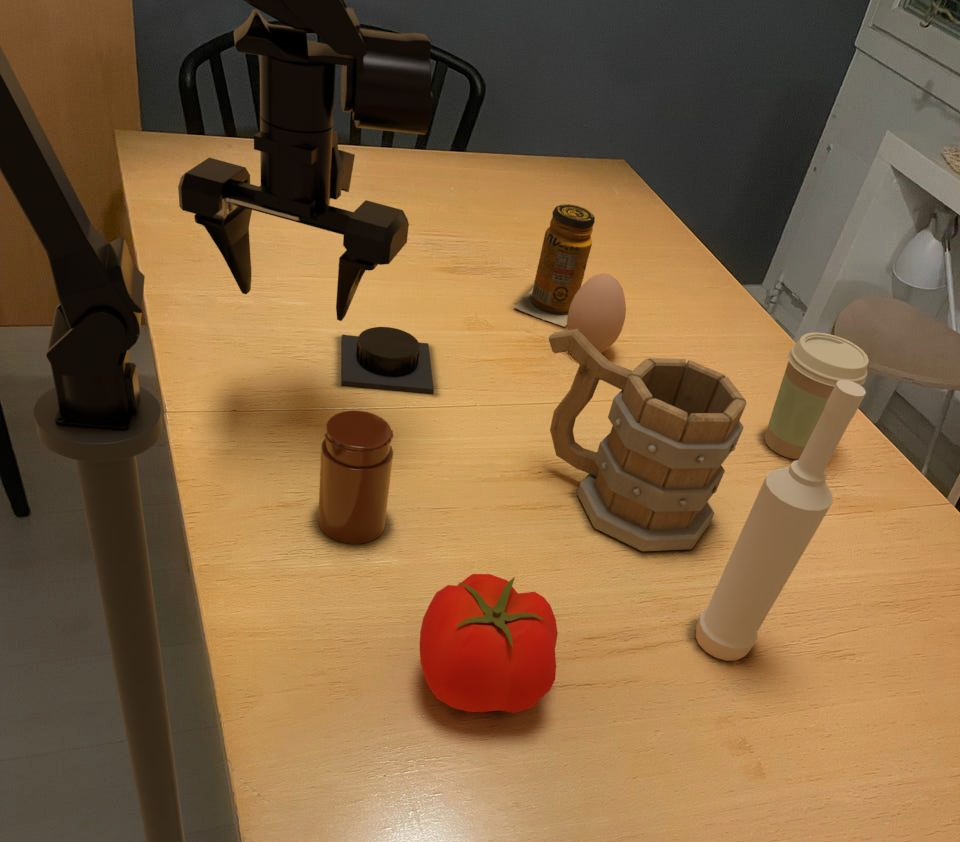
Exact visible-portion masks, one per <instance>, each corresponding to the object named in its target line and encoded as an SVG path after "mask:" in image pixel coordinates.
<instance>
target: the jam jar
mask: <svg viewBox="0 0 960 842" xmlns="http://www.w3.org/2000/svg"><path fill="white" fill-rule="evenodd" d="M393 438H394V430H393V429H392V427H391V426H390V423H388V421H386V420H385V419H384V418H383V417H381V416H379V415H377V414H375V413H372V412H368V411H363V410H344V411H341V412H338V413H336V414H334V415H331V417H329V419H328V420H327V422H326V425H325V433H324V439H323V441H322V443H321V448H320V449H321V450H320V468H319V469H320V470H319V487H318V488H319V489H318V490H319V491H318V512H317V523H318V526H319V529H320V530H321V531H322V533H324V534H325V535H326V536H327V537H329V538H330V539H331V540H334V541H337V542H339V543H343V544H350V545H362V544H366V543H367V544H368V543H370V542H372V541H375V540H376V539H378V538H379V537H380V536H381V535H382V534H383V532H384V531H385V527H386V520H387V510H388V502H389V494H390V485H391V475H392V469H393V468H392V467H393V466H392V465H393V458H394V450H393V447H392V440H393Z"/></svg>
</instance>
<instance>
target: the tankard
mask: <svg viewBox="0 0 960 842" xmlns="http://www.w3.org/2000/svg"><path fill="white" fill-rule="evenodd" d="M548 342H549V345H550V348H551V352H552V353H554V354H560V353H566V352H569V354H570V355H571V356H572V357H573V358H574V360H575V361H576V363H577V364H578V368H577V370H576V374H575V376H574V379H573V381H572V384H571V386H570V389H569V390H568V392H567V393H566V394H565V396H564V397H563V398H562V400H561V401H560V403H558V405H557V406H556V407H555V409H554V410H553V414H552V418H551V423H550V428H549V432H550V436H551V440H552V444H553V448H554V452H555V456H556V457H558V458H559V459H561V460H562V461H564V462H565V463H567V464H569V465H570V466H571V467H573V468H574V469H576V470H578V471H582V472H584V473H587V475H586V476H585V477H584V478H583V479H582V480H581V482H579V485H578V489H577V492H576V495H577V496H578V499H579V500H580V502H581V505H582V506H583V508H584V510H585V513H586V514H587V516H588V518H589V520H590V523H591V525H592V527H593V528H594V529H596V530H597V531H600V532H602V533H603V534H606V535H607V536H610V537H612V538H613V539H616V540H618V541H620V542H622V543H624V544H626V545H628V546H630V547H631V548H634V549H636V550H638V551H640V552H661V551H681V550H692V549H693V548H694V547H695V545H696V544H697V542H698V541H699V540H700V538H701V536H702V535H703V534H704V533H705V531H706V530H707V529H708V527H709V526H710V524H711V522H712V520H713V518H714V516H715V512H714V509H713V508H712V507H711V505H710V503H709V501H710V499H711V498H712V496H713V495H714V494H716V493H717V491H718V488H719V486H720V483H721V481H722V479H723V476H724V474H725V472H726V470H725V468H724V467H723V466H722V465H723V464H724V462H725V461H726V460H727V458H728V457H729V455H730V454H732V452H734V451H735V450H736V447H737V444H738V442H739V439H740V438H741V435H742V432H743V430H744V428H745V427H744V425H743V424H742V422H741V418H742V415H743V413H744V410H745V408H746V406H747V400H746V399H745V397H744V396H743V395H742V393H741V392H740V391H739V389H738V388H737V387H736V386H735V384H734V383H733V382H732V380H731V379H730V378H729V377H728V376H727V377H726V374H724V373H721V372H719V371H716V370H714V369H712V368H709V367H707V366H705V365H703V364H700V363H698V362H695V361H693V360H691V359H688V360H687V362H686V358H667V357H665V358H663V357H661V358H660V357H649V358H646V359H644V360H643V361H641V363H639V364H638V365H637V366H636V367H635V368H634V369H633V370H632V369H629V368H628V367H625V366H622V365H620V364H617V363H615V362H612V361H610V360H609V359H607V357H606V356H604V355H603V354H602V352H599V351H598V350H597V349H596V348H595V347H594V346H593V345H592V344H591V343H590V342H589V341H588V340H587V339H586V337H585V336H584V335H583V334H582V333H581V332H580V331H579V330H578V329H573V330H568V329H567V330H562V331H554V332H553V333H551V334H550V335H549V336H548ZM600 381H603V382H605V383H607V384H609V385H610V386H612V387H614V388H617V389H619V390H620V391H619V392H618V393H617V394H616V395H615V396H614V397H613V399H612V402H611V405H610V406H611V407H610V409H609V412H608V415H607V418H608V420H609V422H610V423H611V425H612V426H611V430H610V432H609V433H608V434H607V435H606V436H605V437H604V438H603V439H601V441H600V442H599V444H598V448H597V451H594V450H591V449H587V448H585V447H583V446H582V445H580V444H579V443H577V441H576V439H575V434H574V428H575V423H576V419H577V417H578V416H579V415H580V414H581V412H582V411H583V410H584V409H585V408H586V406H587V405H588V404H589V402H590V401H591V400H592V399H593V397H594V394H595V392H596V389H597V387H598V384H599V382H600Z"/></svg>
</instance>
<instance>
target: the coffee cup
mask: <svg viewBox="0 0 960 842" xmlns="http://www.w3.org/2000/svg"><path fill="white" fill-rule="evenodd" d="M787 359H788V361H787V364H786V368H785V370H784V373H783V377H782V380H781V383H780V386H779V388H778V389H779V390H778V393H777V396H776V398H775V401H774V405H773V408H772V412H771V415H770V418H769V421H768V424H767V427H766V431H765V434H764V443H765V445H767V446H768V448H769V449H771V450H772V451H773V452H774V453H776V454H777V455H779V456H782V457H785V458H788V459H791V460H799V458H800V456H801V454H802V452H803V450H804V448H805V446H806V444H807V442H808V440H809V438H810V437H811V435H812V433H813V431H814V429H815V427H816V425H817V423H818V421H819V419H820V417H821V415H822V413H823V411H824V409H825V405H826V403H827V401H828V399H829V397H830V395H831V393H832V391H833V389H834V387H835V385H836V383H837V382H838V381H839V380H848V381H852V382H855V383H857V384H859V385H860V386H862V385H863V384H865V382H866V379H867V376H868V365H869V357H868V355H867V353H866V352H865V351H864V350H863V349H862V348H861V347H859V346H858V345H856V344H855V343H853V342H852V341H850V340H848V339H845V338H843V337H841V336H838V335H834V334H830V333H825V332H808V333H805V334H803V335H802V336H801V337H800V338H799V339H798V340H797V341H796V342H795V343H794V344H793V345H792V346H791V348H790V349H789V351H788V352H787Z"/></svg>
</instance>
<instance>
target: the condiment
mask: <svg viewBox="0 0 960 842" xmlns="http://www.w3.org/2000/svg"><path fill="white" fill-rule="evenodd" d="M595 218H596V217H595V215H594V214H593V213H592V212H591V211H590V210H589V209H587V208H585V207H582V206H579V205H576V204H572V203H571V204H568V203H567V204H565V203H563V204H559V205H556V206H555V208H554V209H553V210H552V217H551V219H550V222H549V227H547V228H546V229H545V232H544V236H543V241H542V246H541V251H540V256H539V260H538V263H537V269H536V273H535V278H534V282H533V285H532V288H531V289H530V290H529V291H528V292H527V293H526V294H525V295H524V296H522V297H521V299H520V300H518V302H517V303H515V304H514V305H513V306H512V308H514V309H517V310H519V311H520V312H523V313H525V314H528V315H531V316H532V317H535V318H538V319H541V320H542V321H547V322H550V323H553V324H555V325H558V326H561V327H564V328H566V326H567V317H568V312H569V309H570V305H571V302H572V300H573V298H574V296H575V294H576V293H577V291H578V290H579V289H580V287H581V286H582V285H583V281H584V278H585V272H586V269H587V264H588V260H589V256H590V253H591V249H592V246H593V239H592V237H591V236H592V234H593V232H594V230H593V229H594V224H595V223H596V222H595V221H596V219H595Z"/></svg>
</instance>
